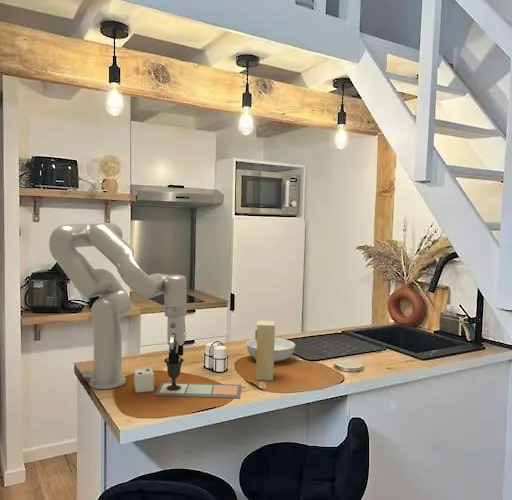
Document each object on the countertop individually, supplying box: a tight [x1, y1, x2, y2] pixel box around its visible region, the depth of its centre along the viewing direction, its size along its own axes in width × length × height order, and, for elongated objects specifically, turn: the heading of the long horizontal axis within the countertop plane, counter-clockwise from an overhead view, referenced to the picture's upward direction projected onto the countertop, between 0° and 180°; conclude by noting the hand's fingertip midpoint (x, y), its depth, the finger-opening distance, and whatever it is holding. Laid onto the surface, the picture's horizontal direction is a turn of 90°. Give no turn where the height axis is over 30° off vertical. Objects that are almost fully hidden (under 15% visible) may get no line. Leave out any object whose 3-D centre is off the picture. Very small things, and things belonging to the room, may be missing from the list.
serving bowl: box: [246, 337, 296, 363], centre depth 206 cm, size 21×21×7 cm
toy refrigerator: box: [254, 320, 276, 381], centre depth 183 cm, size 8×7×21 cm
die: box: [133, 367, 155, 393], centre depth 168 cm, size 6×6×6 cm
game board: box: [154, 381, 242, 399], centre depth 168 cm, size 29×12×1 cm, turn 89°
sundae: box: [164, 356, 185, 391], centre depth 167 cm, size 7×7×15 cm
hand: (176, 359), depth 167 cm, fingers open, 9 cm apart
